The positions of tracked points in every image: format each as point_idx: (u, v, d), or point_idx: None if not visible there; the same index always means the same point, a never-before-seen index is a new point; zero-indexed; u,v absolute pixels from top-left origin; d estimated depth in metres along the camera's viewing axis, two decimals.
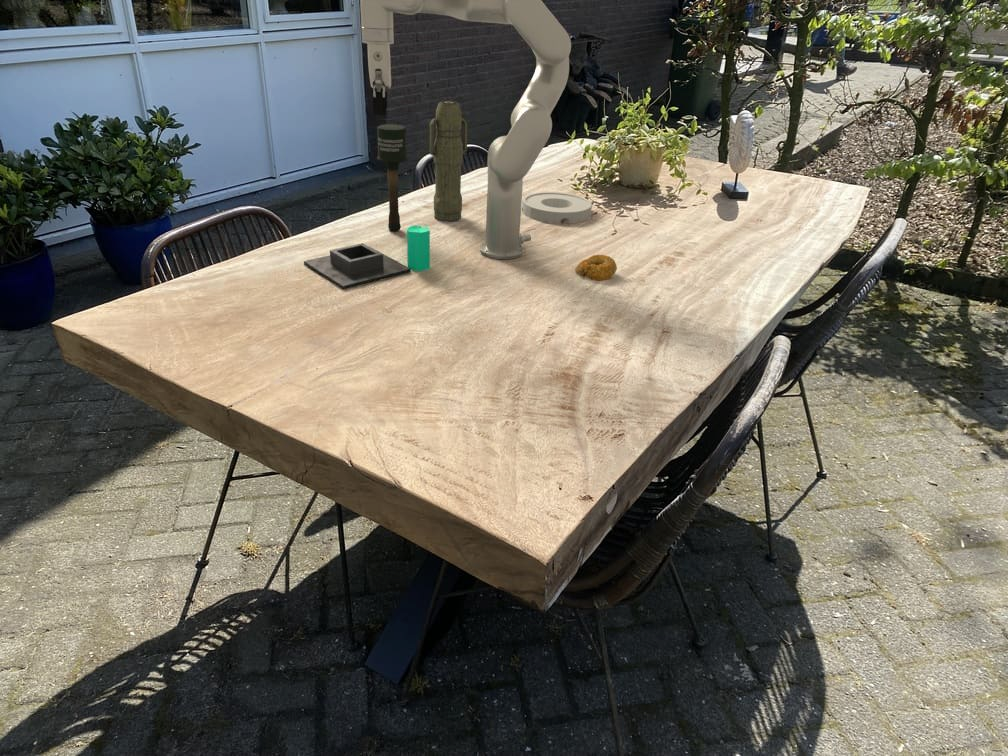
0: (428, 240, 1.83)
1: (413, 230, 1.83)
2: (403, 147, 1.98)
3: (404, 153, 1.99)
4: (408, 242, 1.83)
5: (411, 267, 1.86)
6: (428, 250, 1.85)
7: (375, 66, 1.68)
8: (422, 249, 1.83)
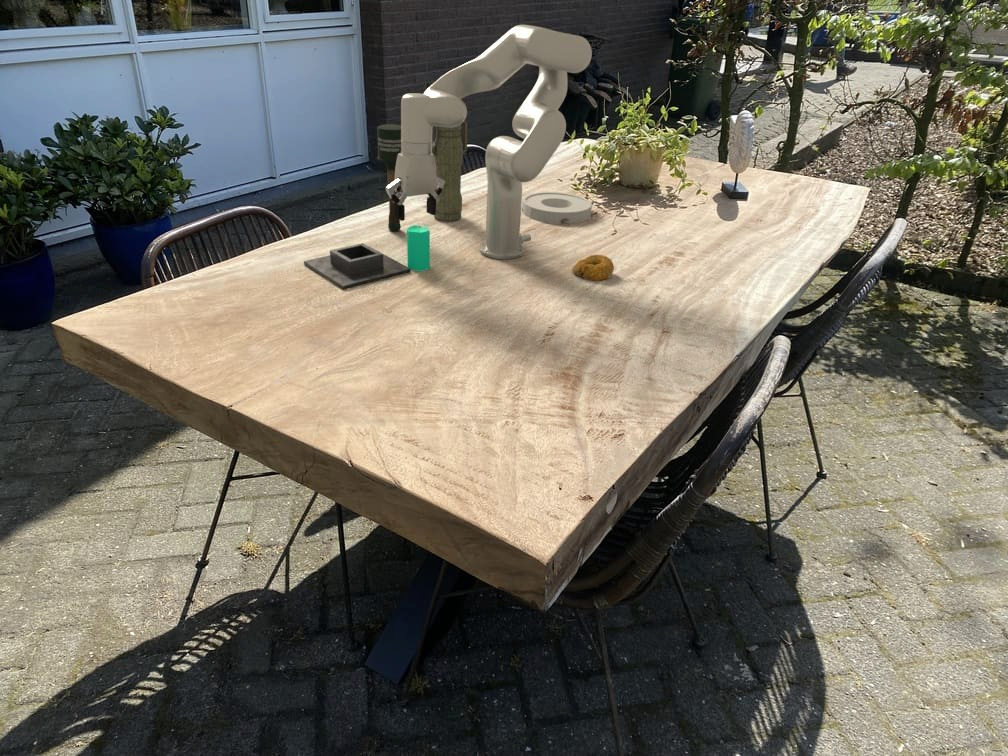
0: (428, 240, 1.83)
1: (413, 230, 1.83)
2: None
3: None
4: (408, 242, 1.83)
5: (411, 267, 1.86)
6: (428, 250, 1.85)
7: None
8: (422, 249, 1.83)
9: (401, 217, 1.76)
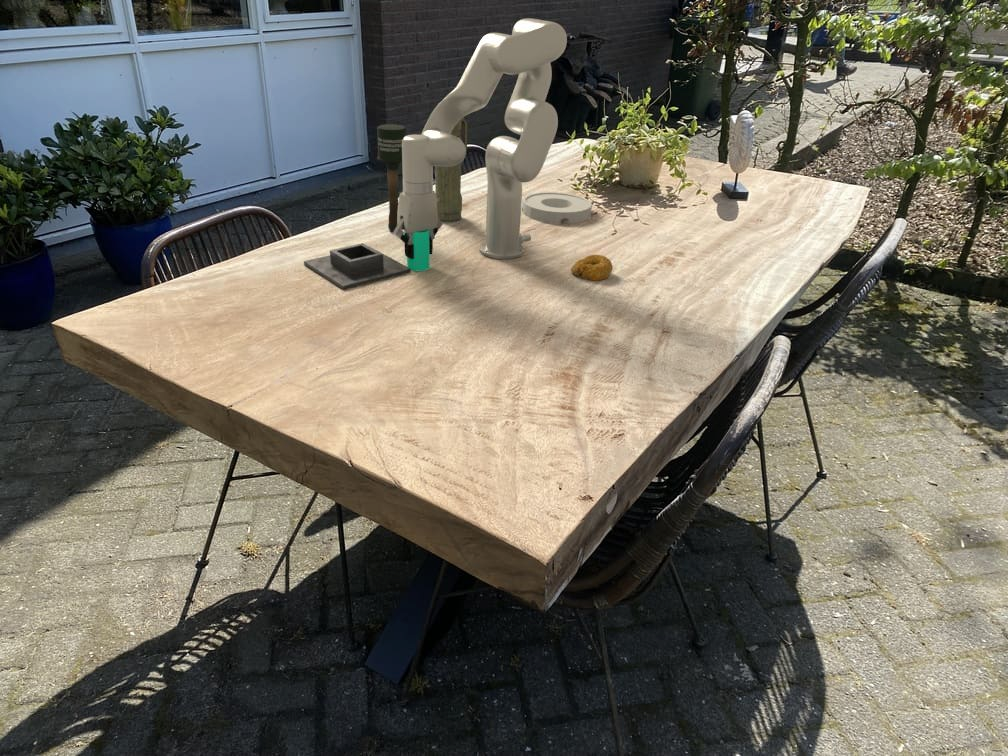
0: (428, 240, 1.83)
1: None
2: None
3: None
4: None
5: (411, 267, 1.85)
6: (428, 250, 1.84)
7: None
8: (421, 249, 1.83)
9: (411, 256, 1.83)
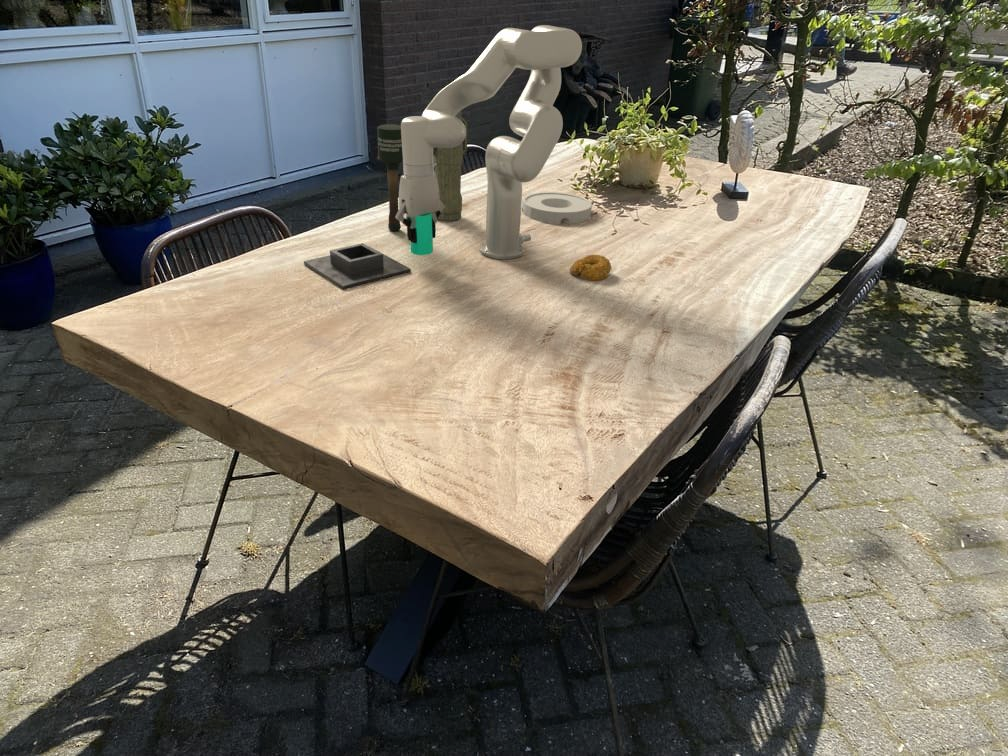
0: (430, 223, 1.81)
1: None
2: None
3: None
4: None
5: (414, 251, 1.84)
6: (431, 234, 1.83)
7: None
8: (424, 233, 1.81)
9: (414, 240, 1.82)
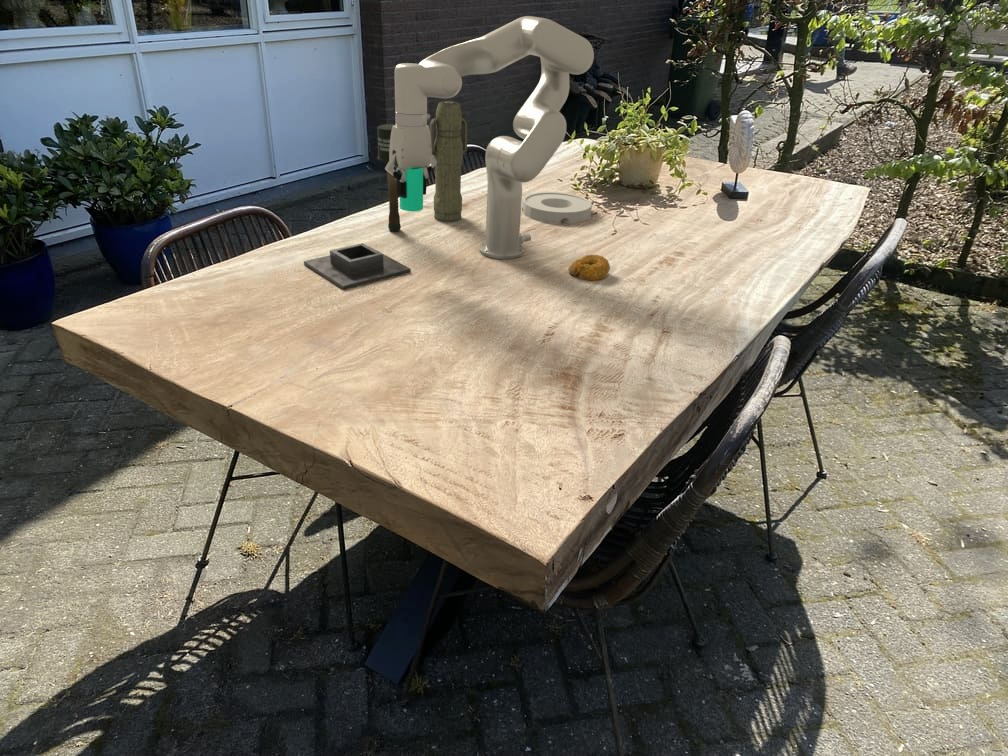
0: (421, 178, 1.75)
1: None
2: None
3: None
4: None
5: (403, 207, 1.77)
6: (421, 189, 1.76)
7: None
8: (415, 187, 1.74)
9: (403, 194, 1.75)
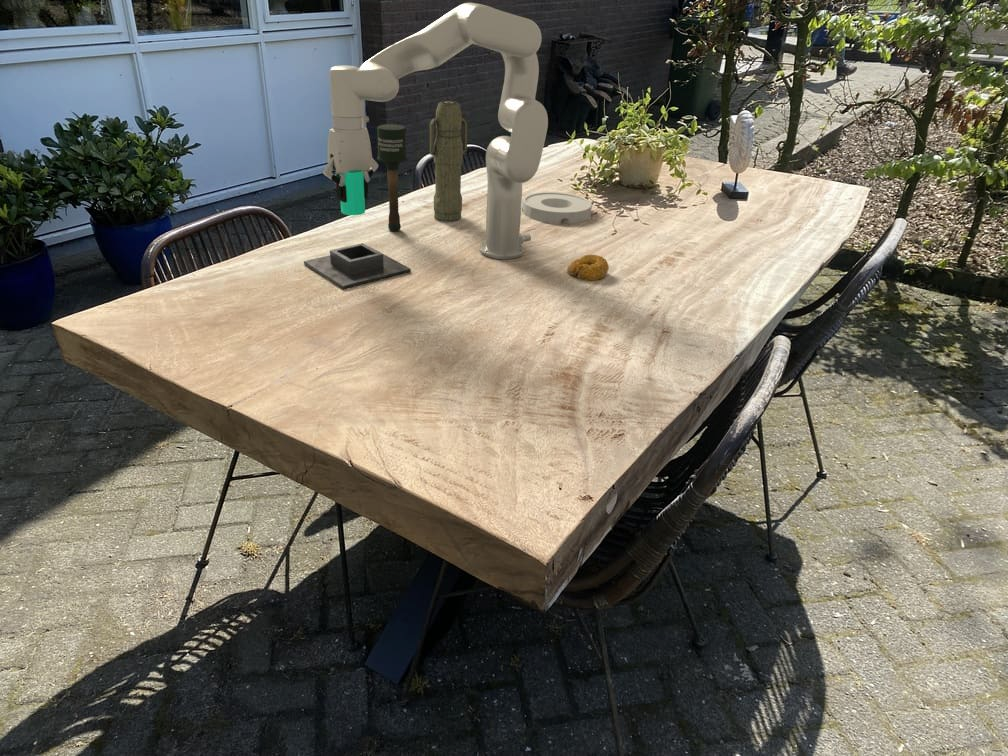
0: (361, 182, 1.72)
1: None
2: (403, 147, 1.98)
3: (404, 153, 1.99)
4: None
5: (344, 211, 1.74)
6: (362, 193, 1.73)
7: None
8: (354, 191, 1.72)
9: (343, 198, 1.72)
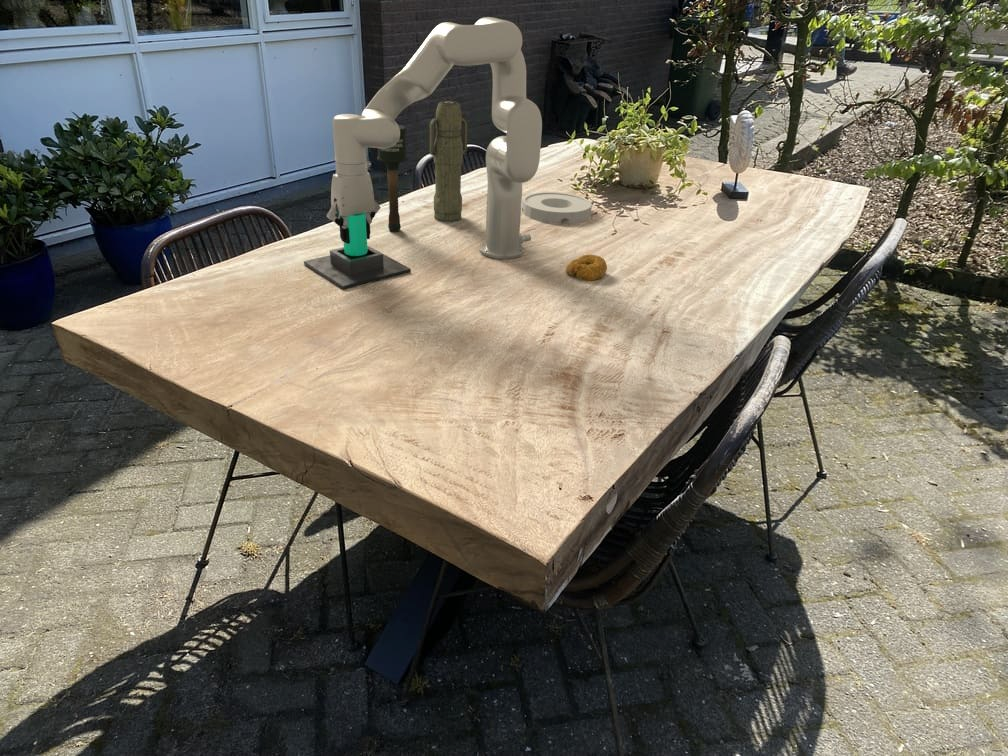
0: (364, 224, 1.78)
1: None
2: (403, 147, 1.98)
3: (404, 153, 1.99)
4: None
5: (347, 252, 1.80)
6: (364, 234, 1.79)
7: None
8: (357, 233, 1.77)
9: (346, 240, 1.78)
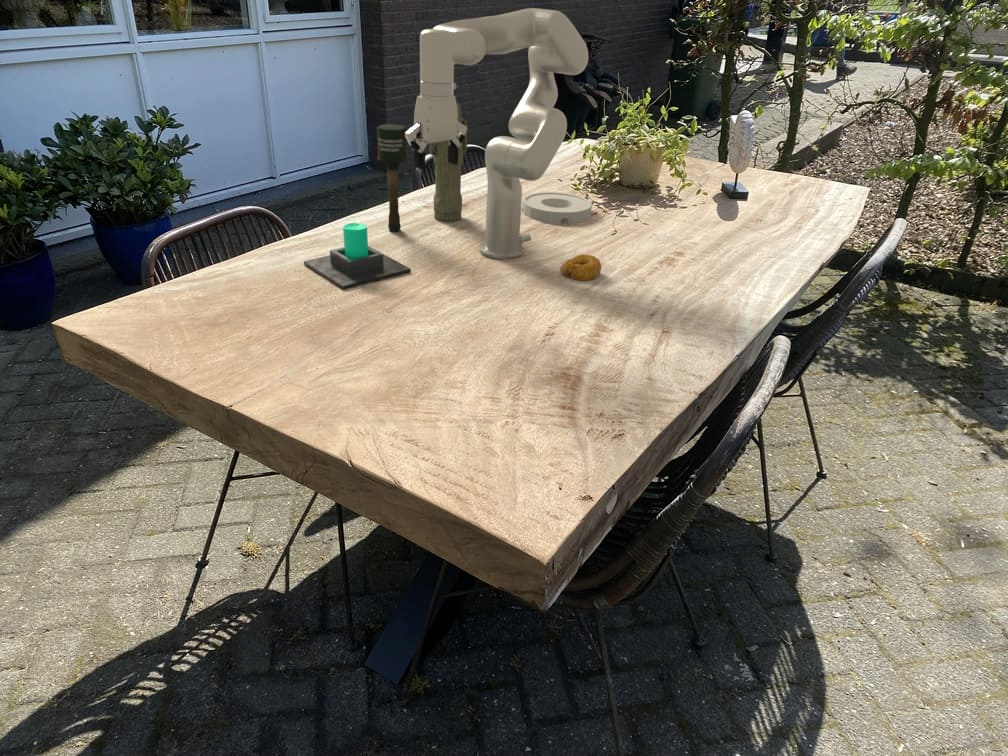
0: (365, 238, 1.79)
1: (350, 227, 1.79)
2: (403, 147, 1.98)
3: (404, 153, 1.99)
4: (345, 240, 1.79)
5: None
6: (366, 248, 1.81)
7: None
8: (358, 247, 1.79)
9: (421, 166, 1.64)
